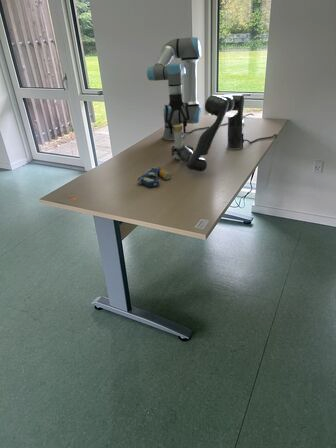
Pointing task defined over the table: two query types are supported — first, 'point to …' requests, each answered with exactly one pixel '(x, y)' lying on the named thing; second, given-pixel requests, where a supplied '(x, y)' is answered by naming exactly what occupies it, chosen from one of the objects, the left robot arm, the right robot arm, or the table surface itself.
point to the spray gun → (153, 174)
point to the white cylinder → (178, 141)
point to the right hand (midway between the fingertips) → (177, 146)
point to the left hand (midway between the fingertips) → (178, 132)
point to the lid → (177, 127)
